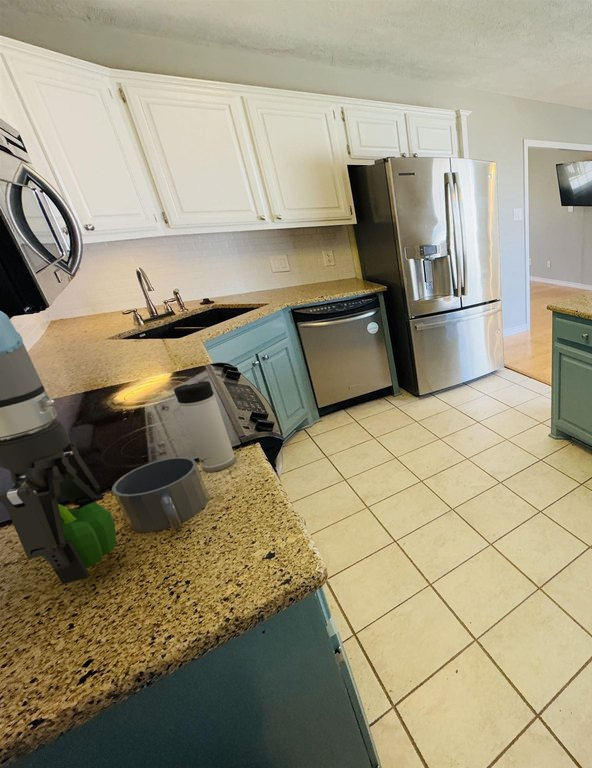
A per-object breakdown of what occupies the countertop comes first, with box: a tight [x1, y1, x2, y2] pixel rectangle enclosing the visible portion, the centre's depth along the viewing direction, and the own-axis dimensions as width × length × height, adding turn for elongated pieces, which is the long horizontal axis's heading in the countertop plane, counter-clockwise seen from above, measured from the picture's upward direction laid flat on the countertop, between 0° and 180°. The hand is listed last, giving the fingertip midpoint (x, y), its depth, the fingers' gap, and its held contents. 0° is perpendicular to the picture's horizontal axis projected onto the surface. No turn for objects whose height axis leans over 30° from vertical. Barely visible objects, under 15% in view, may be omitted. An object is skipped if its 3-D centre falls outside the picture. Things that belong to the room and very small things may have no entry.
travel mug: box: [173, 380, 236, 473], centre depth 88 cm, size 6×7×20 cm
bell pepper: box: [40, 501, 117, 569], centre depth 61 cm, size 8×8×10 cm
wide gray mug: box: [111, 456, 210, 533], centre depth 75 cm, size 16×12×8 cm
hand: (89, 557), depth 62 cm, fingers closed on bell pepper, 8 cm apart
